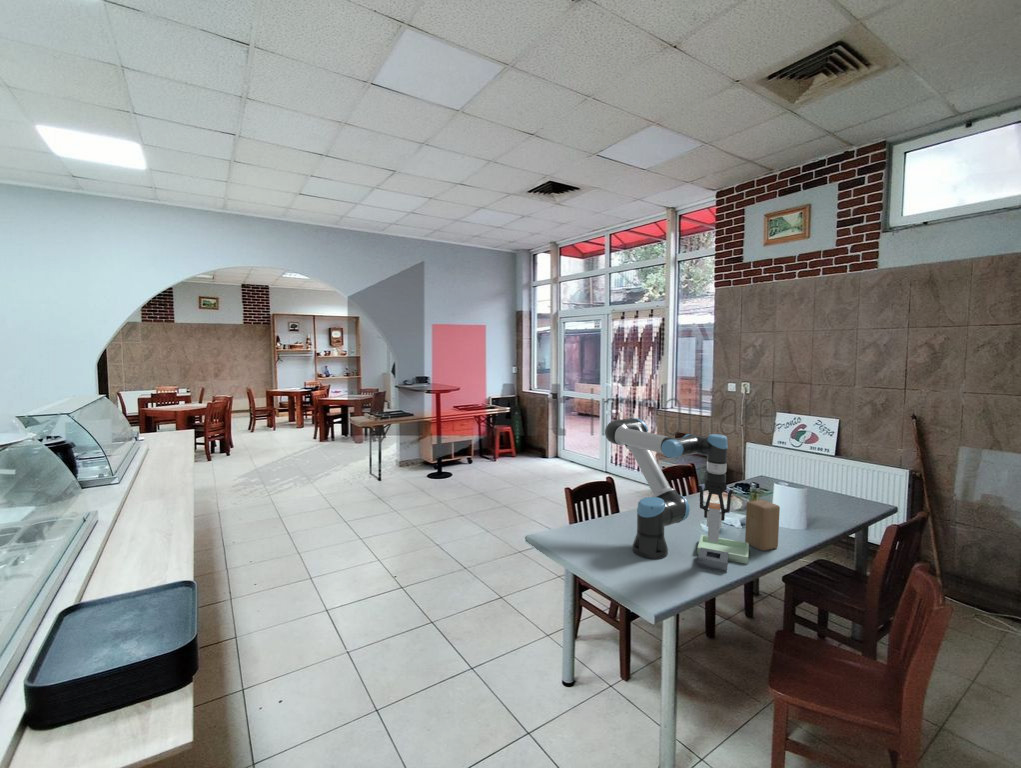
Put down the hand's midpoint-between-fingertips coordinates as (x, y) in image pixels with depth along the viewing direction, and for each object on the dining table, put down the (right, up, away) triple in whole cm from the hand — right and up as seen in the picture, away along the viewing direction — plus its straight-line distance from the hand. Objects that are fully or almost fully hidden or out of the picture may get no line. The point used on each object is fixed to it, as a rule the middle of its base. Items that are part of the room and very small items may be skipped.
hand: (713, 526), depth 196 cm
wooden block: (+30, -15, +19) cm, 39 cm away
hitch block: (0, -16, +1) cm, 16 cm away
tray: (+10, -15, +13) cm, 22 cm away
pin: (0, -6, +1) cm, 6 cm away
